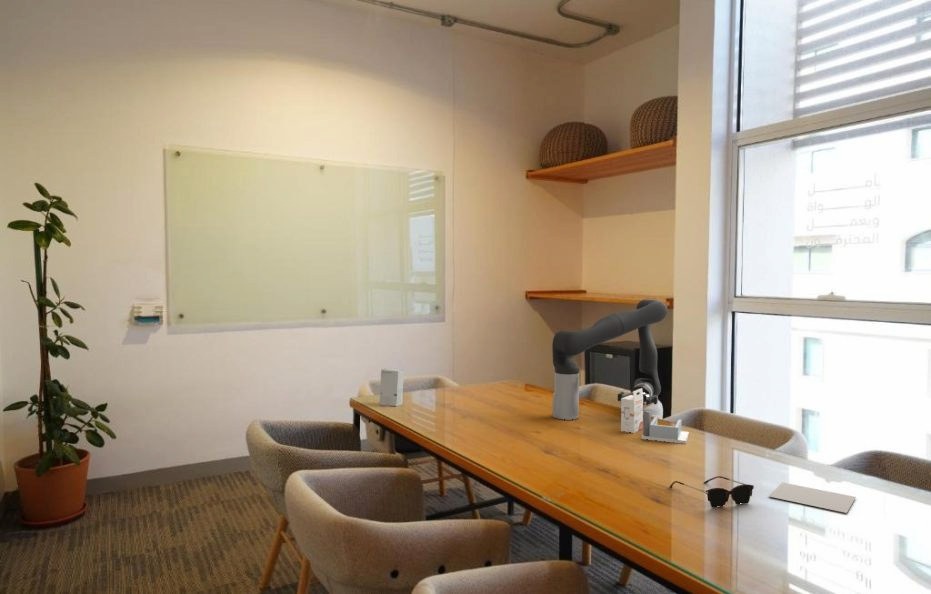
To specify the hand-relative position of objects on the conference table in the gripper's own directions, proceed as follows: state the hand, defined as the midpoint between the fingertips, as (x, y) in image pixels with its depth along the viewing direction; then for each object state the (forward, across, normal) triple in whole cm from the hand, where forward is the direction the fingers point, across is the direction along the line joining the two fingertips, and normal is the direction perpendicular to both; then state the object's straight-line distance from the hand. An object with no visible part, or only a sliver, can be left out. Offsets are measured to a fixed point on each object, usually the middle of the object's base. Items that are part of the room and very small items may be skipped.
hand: (634, 401), depth 228 cm
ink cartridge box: (+6, 0, +9) cm, 11 cm away
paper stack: (+54, +57, +10) cm, 79 cm away
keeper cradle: (+11, +12, +9) cm, 19 cm away
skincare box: (+6, -98, +9) cm, 99 cm away
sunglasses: (+66, +28, +10) cm, 72 cm away
